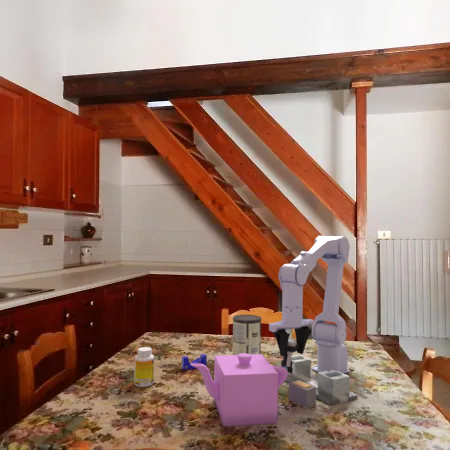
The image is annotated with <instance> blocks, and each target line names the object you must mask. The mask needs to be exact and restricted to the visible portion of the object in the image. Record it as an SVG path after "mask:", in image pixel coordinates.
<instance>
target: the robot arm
mask: <svg viewBox="0 0 450 450" xmlns="http://www.w3.org/2000/svg"><path fill="white" fill-rule="evenodd" d="M349 255H350V242H349V239H348V238H347V237H346V236H345V235H341V236H339V235H336V236H334V235H329V236H328V235H318V236H317V237H316V238H315V239H314V245H313V246H312V247H311V248H310V249H309V250H308V251H301V252H300V253H299V255H297V257H295V258H294V259H293V260H291V262H290V263H285V264H283V265H282V266H281V267H280V268H279V272H278V274H277V275H278V280H279V284H280V290H282V292H281V293H282V294H281V295H282V296H281V297H282V299H281V302H282V303H281V320H279V321H275V322H272V323H268V330H269V332H272V334H273V336H274V338H275V340H276V343H277V347H278V350H279V355H280V356H281V357H282V358H283V357H287V345H288V339H289V338H290V336H291V334H290V333H288V332H287V330H294V334H295V340H296V342H297V343H298V344H299V348H298V351H296V353H297V354H299V355H303V354H304V352H305V348H306V343H307V342H308V339H309V337H310V336H312V338H313V339H314V341H315V344H316V343H317V344H316V345H317V348H316V349H317V351H316V352H317V357H316V358H317V359H316V362H317V363H316V366H313V367H312V366H311V370H313V371H315V372H317V373H319V372H324V371H329V370H336V371H339V372H341V373H343V374H347V373H350V370H349V369H348V367H349V365H348V363H349V361H348V358H349V357H348V356H349V351H348V348H347V346H346V345H345V342H346V339H347V322H346V321H345V320H344V318H343V317H342V316H340V314H339V310H340V301H341V294H342V293H341V292H342V285H343V284H342V283H343V276H344V275H343V274H344V267H345V265H344V264H346V263H348V262H349ZM319 259H321V260H322V261H323V262H325V263H326V264H327V272H326V273H327V274H326V279H325V280H326V281H325V288H324V289H325V291H324V296H323V297H324V298H323V306H322V307H323V308H322V312H320V314H317V315H316V316H315V317H314V319H311V318H307V319H306V318H305V319H303V312H304V311H303V305H304V304H303V303H304V302H303V301H304V300H303V297H304V294H303V293H304V284H306V282H307V279H308V277H309V275H310V272H312V271H313V269H314V268H316V266H317V261H318V260H319Z"/></svg>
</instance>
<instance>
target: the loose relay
mask: <svg viewBox="0 0 450 450" xmlns="http://www.w3.org/2000/svg"><path fill="white" fill-rule="evenodd" d="M288 401H290V402H293V403H295V404H297V405H300V406H301V407H303V408H306V409H307V408H309V407H312V406H314V405H317V398H316V387H315V386H312V385H310V384H307V383H305V382H302V381H300V380H298V381H295V382H292V383H288Z"/></svg>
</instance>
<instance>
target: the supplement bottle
mask: <svg viewBox="0 0 450 450" xmlns="http://www.w3.org/2000/svg"><path fill="white" fill-rule="evenodd" d="M152 353H153V352H152V347H150V346H149V347H148V346H144V347H143V346H142V347H139V348H137V355H135V357H134V367H133V369H134V374H133V376H134V377H133V378H134V379H133V380H134V381H133V383H134V385H135V386H136V387H138V388H148V387H151V386H152V385H153V384H154V377H155V376H154V375H155V371H154V370H155V356H154V354H152Z"/></svg>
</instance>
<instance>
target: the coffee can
mask: <svg viewBox="0 0 450 450" xmlns="http://www.w3.org/2000/svg"><path fill="white" fill-rule="evenodd" d="M232 321H233V323H232V355H238V354H241V353H247V354H250V355H255V354H262V353H261V347H262V346H261V345H262V344H261V343H262V341H261V339H262V338H261V337H262V335H261V334H262V317H261V316H260V315H255V314H236V315H234V316H232Z"/></svg>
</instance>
